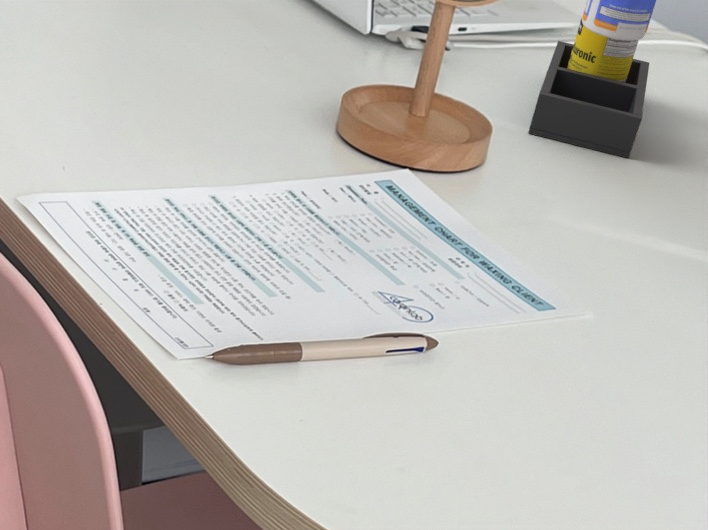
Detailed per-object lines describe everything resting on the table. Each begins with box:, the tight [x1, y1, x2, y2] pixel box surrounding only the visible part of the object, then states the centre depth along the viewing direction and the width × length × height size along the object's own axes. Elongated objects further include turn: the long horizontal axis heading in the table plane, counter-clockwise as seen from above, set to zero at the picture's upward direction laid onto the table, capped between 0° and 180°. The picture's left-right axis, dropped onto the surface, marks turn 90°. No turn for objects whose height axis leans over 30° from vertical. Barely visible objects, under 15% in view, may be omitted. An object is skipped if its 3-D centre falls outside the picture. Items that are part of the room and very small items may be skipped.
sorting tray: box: [527, 40, 650, 159], centre depth 116 cm, size 16×9×4 cm, turn 164°
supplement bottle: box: [567, 11, 640, 83], centre depth 117 cm, size 5×5×10 cm
